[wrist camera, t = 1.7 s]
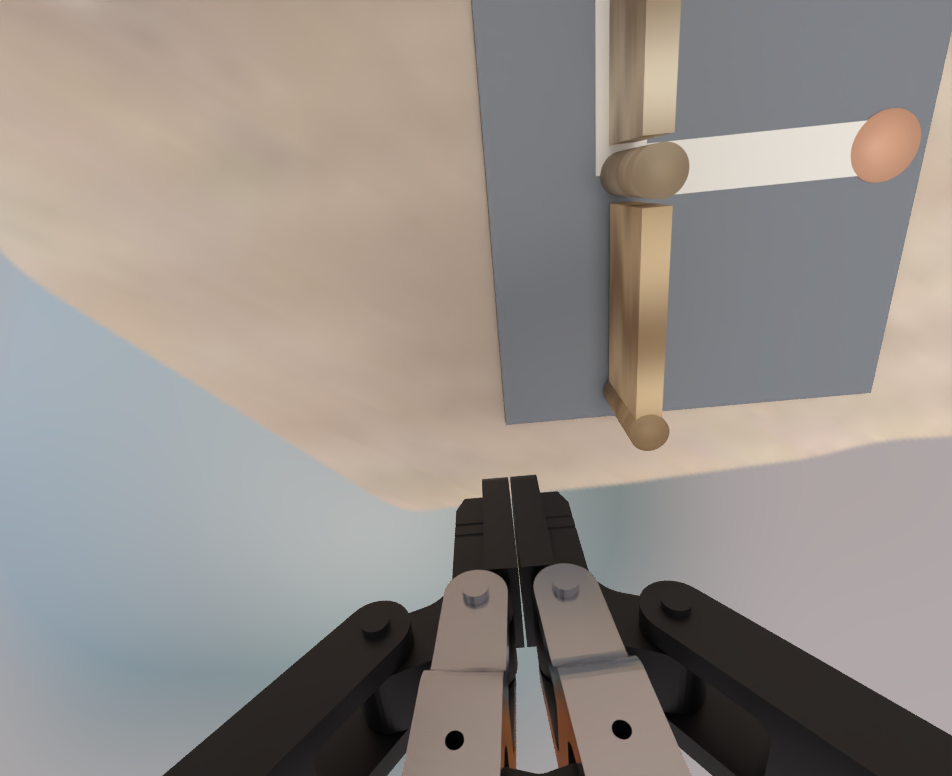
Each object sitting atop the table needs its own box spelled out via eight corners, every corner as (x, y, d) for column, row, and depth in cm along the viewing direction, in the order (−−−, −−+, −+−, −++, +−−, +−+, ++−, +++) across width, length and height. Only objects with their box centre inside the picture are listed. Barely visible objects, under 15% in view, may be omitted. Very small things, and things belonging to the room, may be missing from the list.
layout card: (458, -164, 20) (457, -173, 19) (1002, -233, 19) (1015, -243, 19) (505, 421, 30) (506, 425, 29) (865, 389, 29) (872, 393, 29)
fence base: (599, -161, 20) (647, -291, 14) (650, -167, 20) (718, -300, 14) (599, 197, 25) (635, 201, 19) (640, 193, 25) (687, 196, 19)
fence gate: (603, 204, 24) (636, 209, 20) (641, 200, 24) (682, 204, 19) (603, 406, 28) (629, 452, 24) (635, 403, 28) (668, 449, 24)
